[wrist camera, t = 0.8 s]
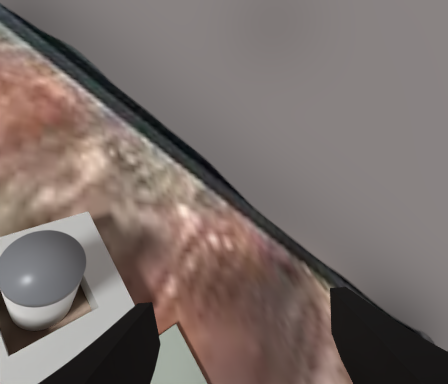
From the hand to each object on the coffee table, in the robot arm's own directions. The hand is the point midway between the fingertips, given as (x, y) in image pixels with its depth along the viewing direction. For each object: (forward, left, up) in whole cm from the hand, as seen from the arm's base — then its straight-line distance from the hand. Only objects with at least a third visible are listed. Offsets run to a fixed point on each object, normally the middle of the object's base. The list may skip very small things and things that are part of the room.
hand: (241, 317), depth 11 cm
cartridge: (-4, +7, -16) cm, 18 cm away
